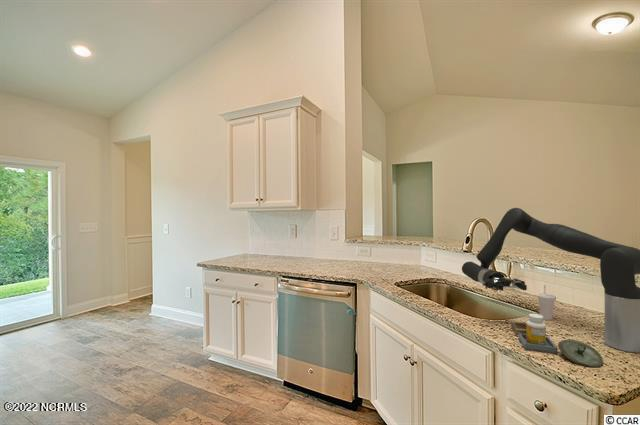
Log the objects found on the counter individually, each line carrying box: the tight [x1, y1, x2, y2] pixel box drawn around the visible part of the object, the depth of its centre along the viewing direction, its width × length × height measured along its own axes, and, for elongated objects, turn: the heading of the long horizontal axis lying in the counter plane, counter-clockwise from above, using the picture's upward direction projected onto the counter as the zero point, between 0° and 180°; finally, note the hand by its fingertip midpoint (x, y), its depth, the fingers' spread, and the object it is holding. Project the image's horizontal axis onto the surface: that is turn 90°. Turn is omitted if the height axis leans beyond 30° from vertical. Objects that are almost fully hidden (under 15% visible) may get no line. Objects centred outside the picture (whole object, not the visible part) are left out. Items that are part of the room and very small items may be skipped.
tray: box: [518, 333, 559, 355], centre depth 101 cm, size 9×9×2 cm
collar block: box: [510, 321, 526, 336], centre depth 112 cm, size 8×8×2 cm
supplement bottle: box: [525, 313, 547, 346], centre depth 101 cm, size 5×5×10 cm
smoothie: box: [536, 284, 557, 321], centre depth 125 cm, size 6×6×14 cm
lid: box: [557, 339, 604, 368], centre depth 92 cm, size 11×10×5 cm
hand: (513, 287), depth 113 cm, fingers open, 8 cm apart
